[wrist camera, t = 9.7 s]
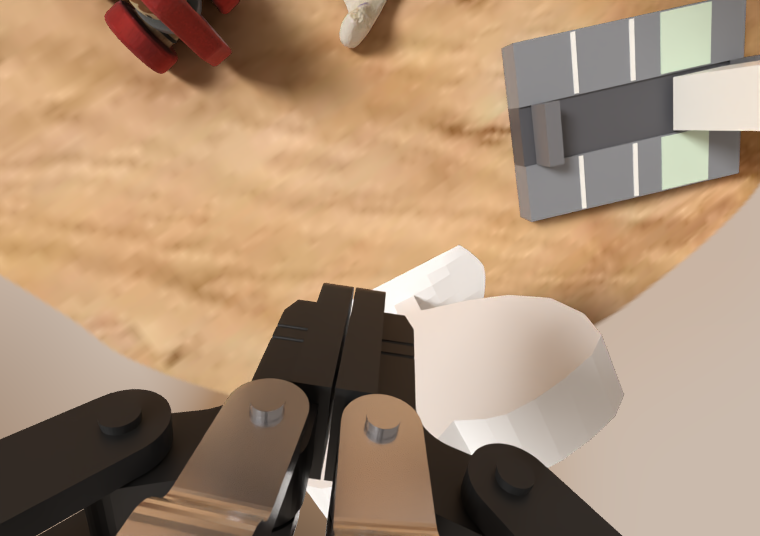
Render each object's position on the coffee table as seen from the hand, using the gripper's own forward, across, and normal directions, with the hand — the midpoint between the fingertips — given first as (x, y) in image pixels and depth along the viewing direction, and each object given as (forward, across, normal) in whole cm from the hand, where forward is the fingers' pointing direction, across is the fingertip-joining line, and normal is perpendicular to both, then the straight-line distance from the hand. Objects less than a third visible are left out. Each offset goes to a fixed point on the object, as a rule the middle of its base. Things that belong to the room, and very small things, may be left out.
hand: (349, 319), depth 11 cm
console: (+26, -16, -4) cm, 31 cm away
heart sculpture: (+22, -4, +12) cm, 25 cm away
